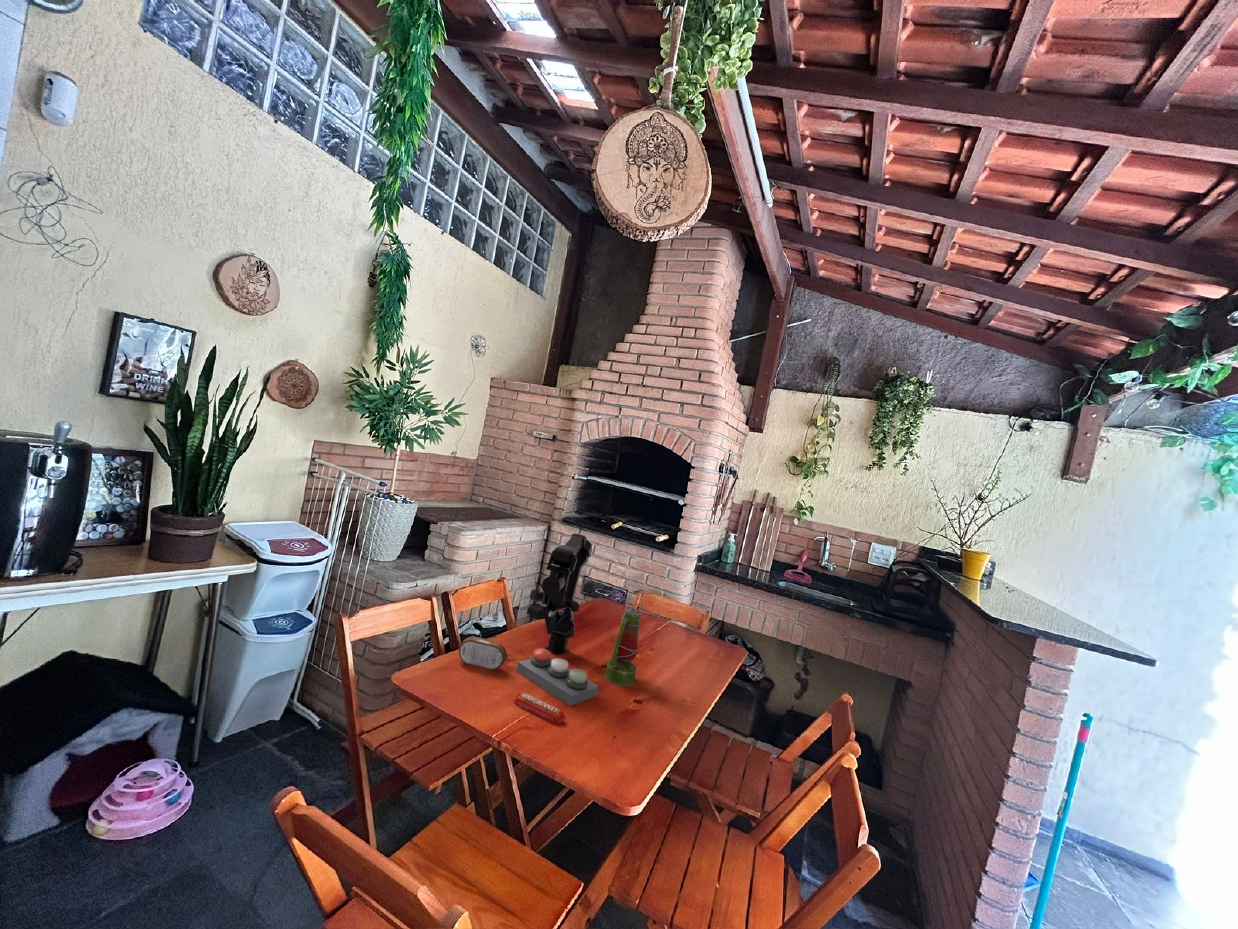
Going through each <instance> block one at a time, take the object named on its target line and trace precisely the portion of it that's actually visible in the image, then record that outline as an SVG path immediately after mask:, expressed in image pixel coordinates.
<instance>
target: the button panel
mask: <svg viewBox="0 0 1238 929" xmlns="http://www.w3.org/2000/svg"><path fill="white" fill-rule="evenodd" d="M533 657H534V654H533V655H532V656H531V658H529V659H524V660H520V661H517V666H516V672H517V673H518V674H520V675H521V676H523V677H524V678H526V679H527V678H528V679H527V680H529V681H530V682H531V683H533V682H534V683H533V684H535V685H536V686H539V688H541V689H542V690H545V691H546V692H547V691H548V694H551V695H552V696H553V697H555V698H557V699H558V700H560V701H561V702H563V703H564V704H566V705H567V706H569V707H572V706H574V705H576V704H580V703H582V702H585V701H587V700H590V699H592V698H595V697H598V694H599V688H600V686H599V685H598V684H596V683H594V682H593V681H592V680H589V679H588V678H586V682H585V683H582V684H578V683H574V682H572V681H570V680H569V675H570V671H571V670H572V669H570V668H567V671H566V672H556V671H553V670H552V669H551V663H552V660H553V659H554V658H552V657H550V660H549V661H547V662H540V661H537V660H535V659H534V658H533Z"/></svg>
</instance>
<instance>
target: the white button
mask: <svg viewBox="0 0 1238 929" xmlns="http://www.w3.org/2000/svg"><path fill="white" fill-rule="evenodd" d="M552 659H553V660H552V663H551V669H552V670H553V671H556V672H566V671H567V668H568V667H569V662H568V660H566V659H564V658H552Z"/></svg>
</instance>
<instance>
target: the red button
mask: <svg viewBox="0 0 1238 929" xmlns="http://www.w3.org/2000/svg"><path fill="white" fill-rule="evenodd" d="M533 655H534V657H533V658H534V659H535V660H537V661H540V662H547V661H549V660H550V658H551V655H552V652H551V651H549V650H548V649H546V648H535V649H534V653H533Z"/></svg>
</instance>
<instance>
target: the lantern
mask: <svg viewBox="0 0 1238 929" xmlns="http://www.w3.org/2000/svg"><path fill="white" fill-rule="evenodd" d="M634 594H641V601H640V605H639V606H640V607H639V610H638V609H637V604H635V602H633V603H632V606H631V607H630V608H628V606H629V605H628V604H629V600H630V598H631V596H632V595H634ZM643 598H644V594H643V592H642V591H641V590H640V589H638V590H633V591H632V592H631V593H630V594H629V596H628V597H627V601H626V606H625V610H624V614H623V615H622V618H621V619H620V622H621V624H620V627H619V630H618V634H617V636H616V641H613V648H612V651H613V652H612V655H611V657H610V658H611V659H610V660H608V661H607V663H606V669H605V672H604V675H603V677H604V679H605V680H606V681H607V682H609V683H610V684H613V685H615V686H618V687H632V686H634V684H636V674H637V667H636V665H635V664H633V662H634V660H635V658H636V656H637V655H638V650H639V643H638V642H639V641H638V640H639V633H640V626H641V625H640V624H641V621H640V620H641V617H642V605H643ZM634 604H635V606H634Z"/></svg>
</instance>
